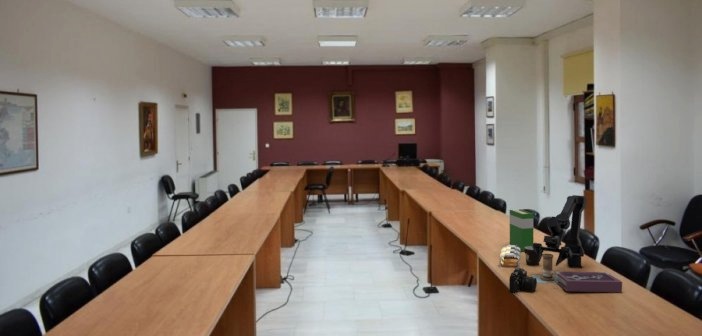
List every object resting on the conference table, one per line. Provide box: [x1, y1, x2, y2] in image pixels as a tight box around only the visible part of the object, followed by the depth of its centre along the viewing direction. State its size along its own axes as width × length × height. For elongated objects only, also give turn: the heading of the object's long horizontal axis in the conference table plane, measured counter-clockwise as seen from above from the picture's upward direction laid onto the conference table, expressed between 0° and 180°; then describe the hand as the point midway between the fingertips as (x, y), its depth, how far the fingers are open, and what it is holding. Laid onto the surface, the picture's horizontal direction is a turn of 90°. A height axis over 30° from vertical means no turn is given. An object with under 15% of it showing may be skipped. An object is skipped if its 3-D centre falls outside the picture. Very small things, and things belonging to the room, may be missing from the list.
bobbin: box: [540, 253, 555, 281], centre depth 255 cm, size 7×7×12 cm
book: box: [553, 270, 623, 293], centre depth 243 cm, size 25×16×5 cm, turn 88°
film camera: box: [508, 267, 538, 294], centre depth 243 cm, size 18×12×10 cm
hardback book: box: [509, 209, 534, 253], centre depth 322 cm, size 18×7×24 cm, turn 7°
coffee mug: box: [524, 246, 540, 267], centre depth 285 cm, size 12×9×10 cm
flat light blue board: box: [531, 274, 558, 285], centre depth 256 cm, size 14×14×1 cm
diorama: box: [499, 244, 521, 268], centre depth 291 cm, size 25×10×13 cm, turn 160°
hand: (546, 264), depth 254 cm, fingers open, 9 cm apart
